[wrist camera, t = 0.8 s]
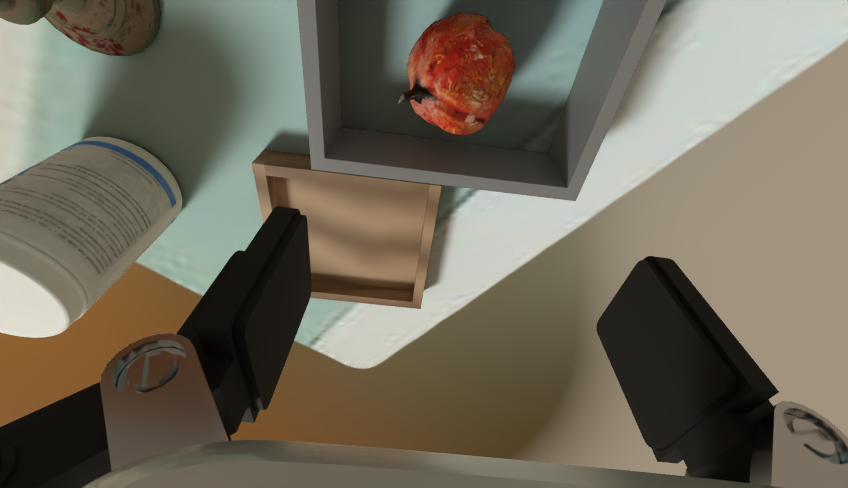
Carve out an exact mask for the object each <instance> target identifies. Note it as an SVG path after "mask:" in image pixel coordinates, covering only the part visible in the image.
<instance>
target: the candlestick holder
mask: <svg viewBox="0 0 848 488" xmlns="http://www.w3.org/2000/svg"><path fill="white" fill-rule="evenodd" d="M43 17H45V18H46V19H47V20H48V21H49V22H50V23H51V24H52V25H53V26H54V27H55V28H56V29H58V30H59V31H60V32H62V33H63V34H64V35H66V36H67V37H68V38H70V39H71V40H72V41H74V42H76V43H78V44H80V45H82V46H84V47H86V48H88V49H90V50H92V51H96V52H99V53H103V54H106V55H113V56H129V55H132V54H136V53H139V52H142V51H143V50H144V49H145V48H146V47H148V46H149V45H150V44H151V43H152V42H153V39H154V37H155V35H156V33H157V31H158V28H159V19H160V9H159V2H158V0H0V18H2V19H4V20H6V21H9V22H12V23H16V24H22V25H29V24H32V23H35V22H37V21H38V20H39V19H40V18H43Z"/></svg>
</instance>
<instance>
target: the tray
mask: <svg viewBox="0 0 848 488" xmlns="http://www.w3.org/2000/svg"><path fill="white" fill-rule="evenodd" d="M252 167H253V172H254V177H255V182H256V187H257V192H258V197H259V202H260V207H261V212H262V217H263V222H265V221H266V219H267V218H268V216H269V215H270V213H271V212H272V210H273V209H274V208H275V207H276V206H281V207H289V208H296V209H299V211H300V214H301V215H306V217H307V224H308V238H309V253H310V267H311V281H312V291H311V296H310V298H318V299H328V300H338V301H348V302H358V303H368V304H378V305H387V306H397V307H407V308H417V309H421V303H422V297H423V291H424V286H425V280H426V274H427V268H428V262H429V256H430V251H431V245H432V239H433V233H434V227H435V222H436V216H437V210H438V204H439V198H440V193H441V187H442V185H438V184H430V183H421V182H413V181H405V180H396V179H388V178H380V177H371V176H363V175H355V174H347V173H338V172H330V171H322V170H313V169H311V158H310V156H307V155H299V154H291V153H283V152H275V151H267V150H263V151H262V152H261V154H260V155H259V156H258V157H257V158H256V159H255V160H254V161H253V162H252Z"/></svg>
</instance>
